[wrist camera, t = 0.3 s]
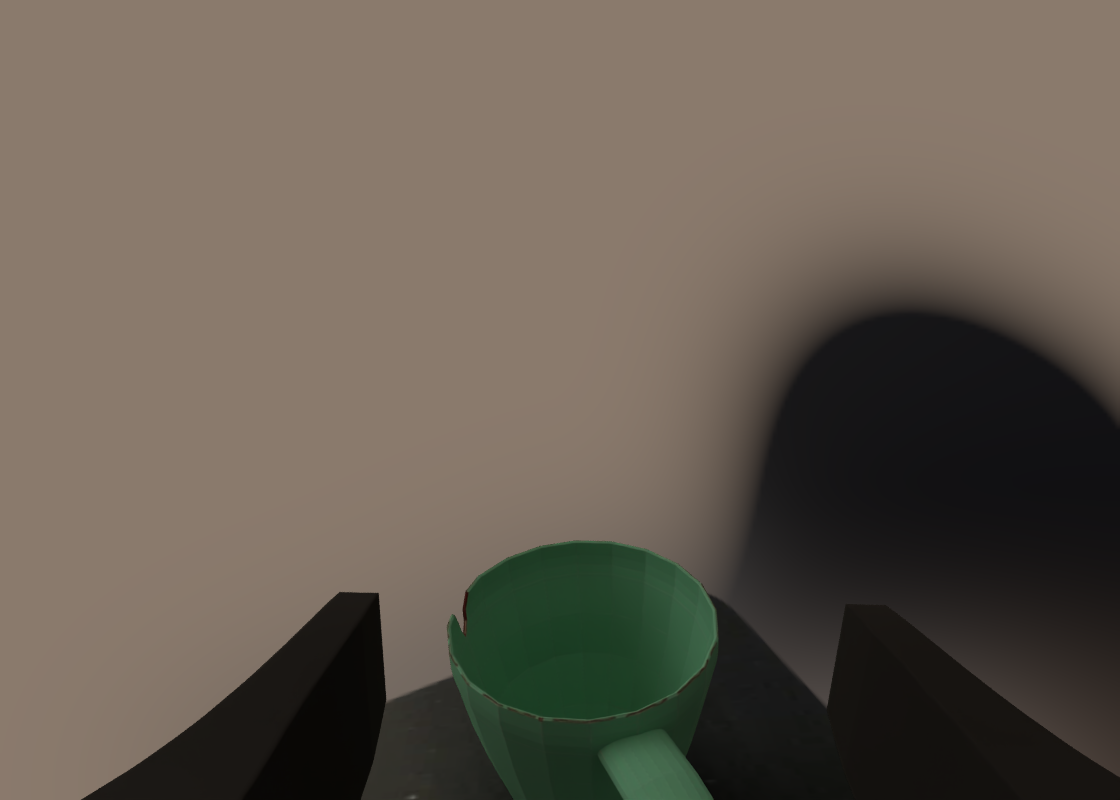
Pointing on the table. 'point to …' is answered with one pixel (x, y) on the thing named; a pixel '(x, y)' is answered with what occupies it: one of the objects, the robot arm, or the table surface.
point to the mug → (587, 671)
